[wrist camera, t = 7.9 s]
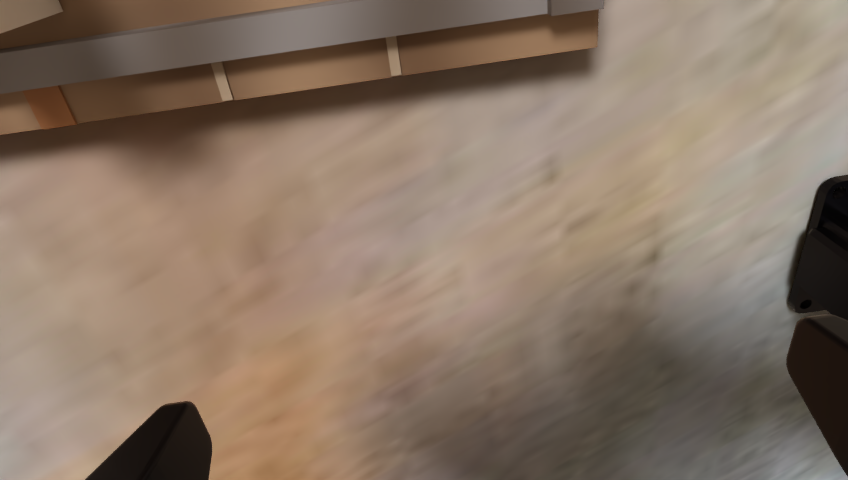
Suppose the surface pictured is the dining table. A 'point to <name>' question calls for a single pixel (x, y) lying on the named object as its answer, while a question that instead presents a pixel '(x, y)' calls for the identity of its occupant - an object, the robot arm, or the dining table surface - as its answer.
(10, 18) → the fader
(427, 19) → the brown wooden tray
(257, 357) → the dining table surface
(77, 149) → the dining table surface
